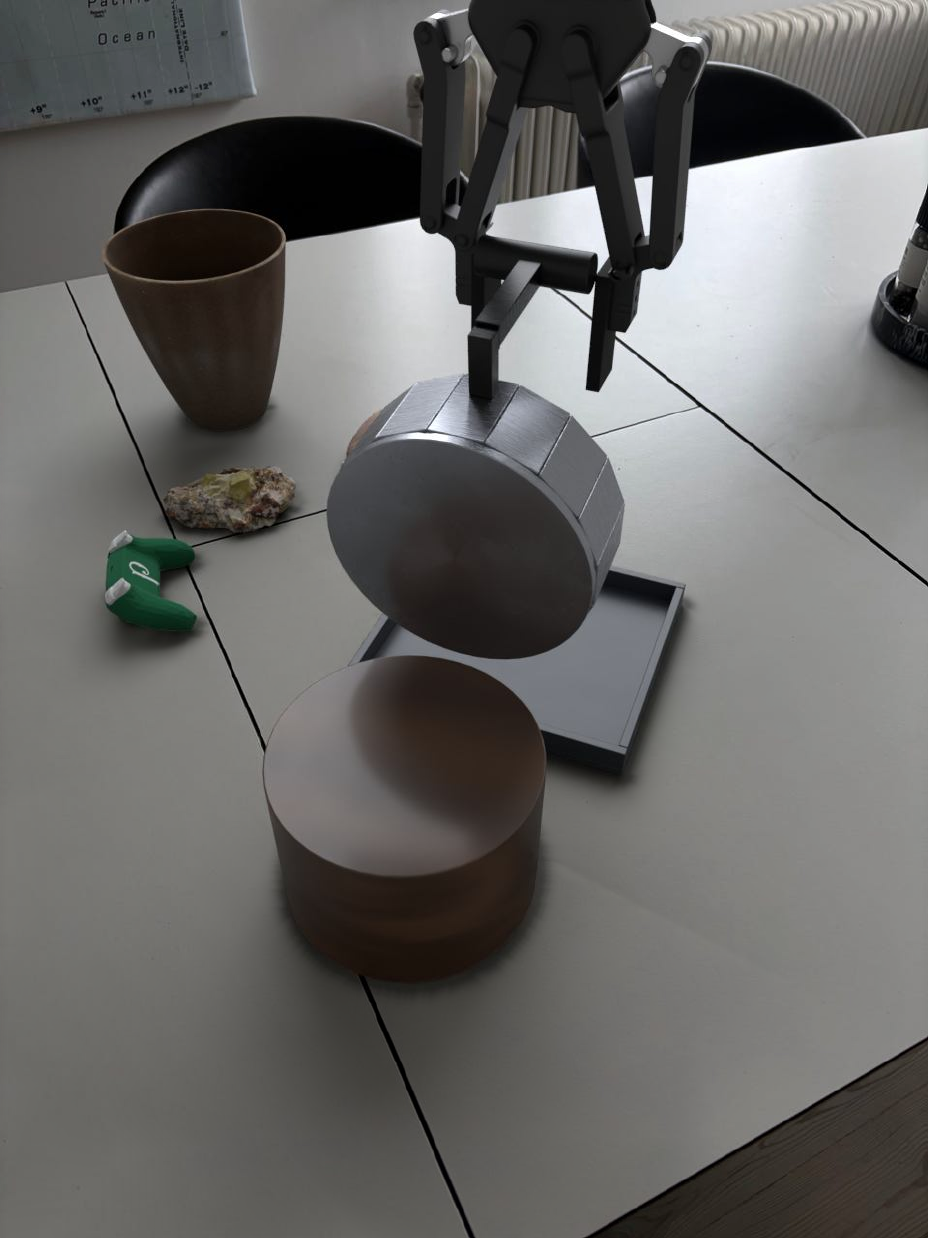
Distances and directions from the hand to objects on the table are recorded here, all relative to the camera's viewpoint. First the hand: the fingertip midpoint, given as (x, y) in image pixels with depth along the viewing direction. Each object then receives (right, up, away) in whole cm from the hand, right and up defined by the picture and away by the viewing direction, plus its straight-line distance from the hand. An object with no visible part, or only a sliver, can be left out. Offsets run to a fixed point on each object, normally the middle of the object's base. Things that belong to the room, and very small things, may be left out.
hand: (541, 367), depth 57 cm
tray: (0, -16, +14) cm, 22 cm away
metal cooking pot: (-5, -10, -8) cm, 13 cm away
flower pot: (-27, +5, +37) cm, 46 cm away
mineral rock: (-24, -5, +26) cm, 36 cm away
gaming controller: (-27, -13, +18) cm, 35 cm away
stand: (-7, -28, +1) cm, 29 cm away
